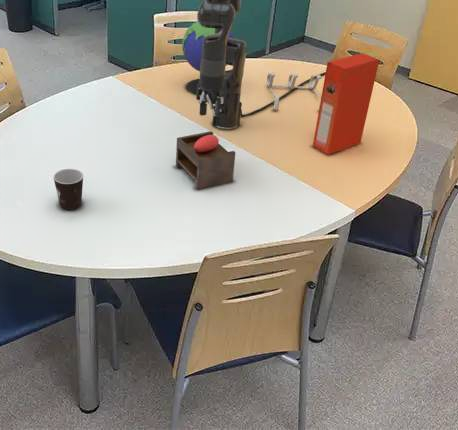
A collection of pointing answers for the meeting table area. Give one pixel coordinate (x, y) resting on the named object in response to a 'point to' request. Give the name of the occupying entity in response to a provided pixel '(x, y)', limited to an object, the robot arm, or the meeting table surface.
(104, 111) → the meeting table surface
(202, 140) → the red rounded oblong piece
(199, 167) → the rack
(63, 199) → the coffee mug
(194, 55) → the globe
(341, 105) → the file binder
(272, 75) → the over door rack
